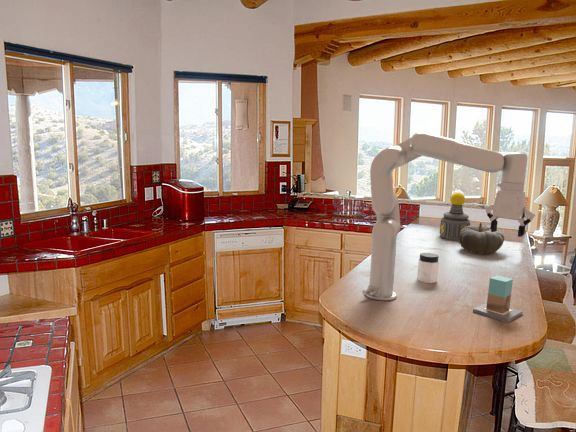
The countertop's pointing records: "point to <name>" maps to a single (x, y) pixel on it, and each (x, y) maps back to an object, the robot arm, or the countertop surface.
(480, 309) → the grey square plate
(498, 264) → the countertop surface
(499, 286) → the teal block
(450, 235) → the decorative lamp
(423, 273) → the jar
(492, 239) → the gourd
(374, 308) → the countertop surface
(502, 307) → the walnut block
